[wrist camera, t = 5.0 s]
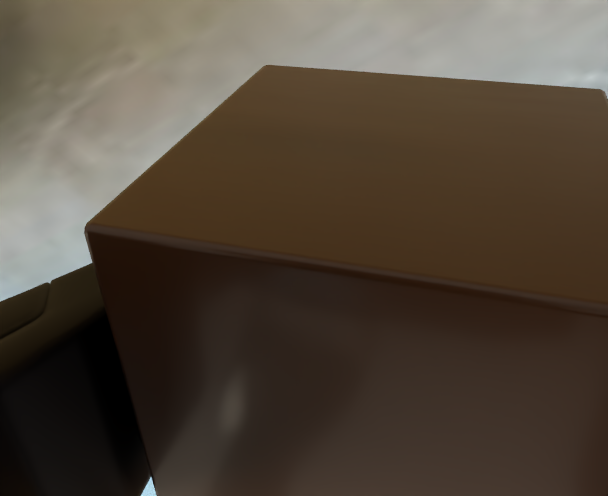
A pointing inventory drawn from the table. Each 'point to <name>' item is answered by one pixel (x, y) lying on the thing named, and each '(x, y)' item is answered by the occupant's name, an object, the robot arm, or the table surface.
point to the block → (369, 290)
